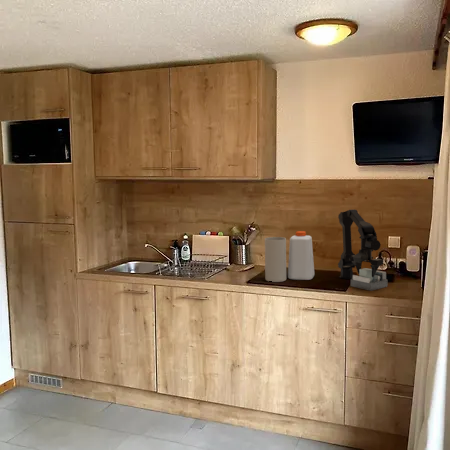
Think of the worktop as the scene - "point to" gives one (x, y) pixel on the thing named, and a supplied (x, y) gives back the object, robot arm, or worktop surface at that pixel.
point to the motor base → (365, 283)
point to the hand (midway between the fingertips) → (366, 275)
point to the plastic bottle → (301, 257)
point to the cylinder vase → (275, 259)
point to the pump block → (366, 273)
